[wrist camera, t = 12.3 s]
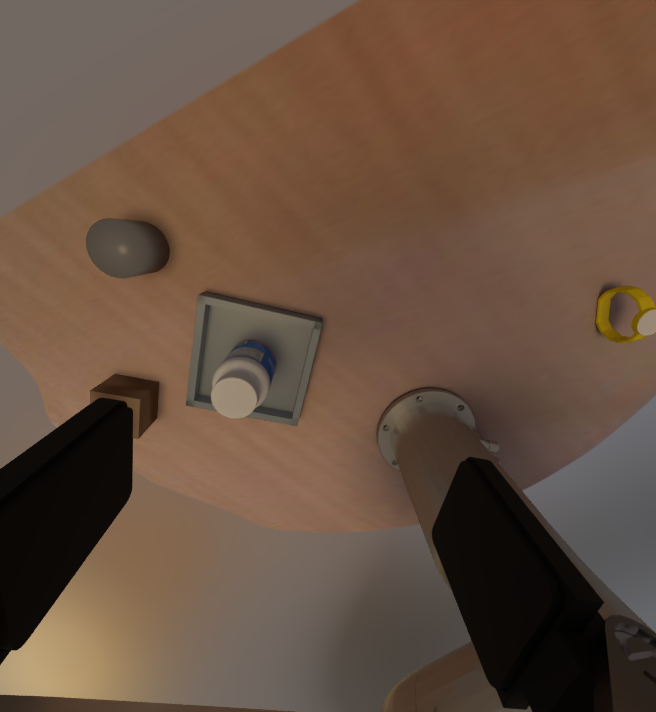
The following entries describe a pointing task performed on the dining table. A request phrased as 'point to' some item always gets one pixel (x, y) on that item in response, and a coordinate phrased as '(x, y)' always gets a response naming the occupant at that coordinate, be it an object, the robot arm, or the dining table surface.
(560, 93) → the dining table surface
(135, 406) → the walnut block
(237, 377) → the pill bottle
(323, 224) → the dining table surface
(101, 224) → the smooth grey pebble
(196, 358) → the slate tray
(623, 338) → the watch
